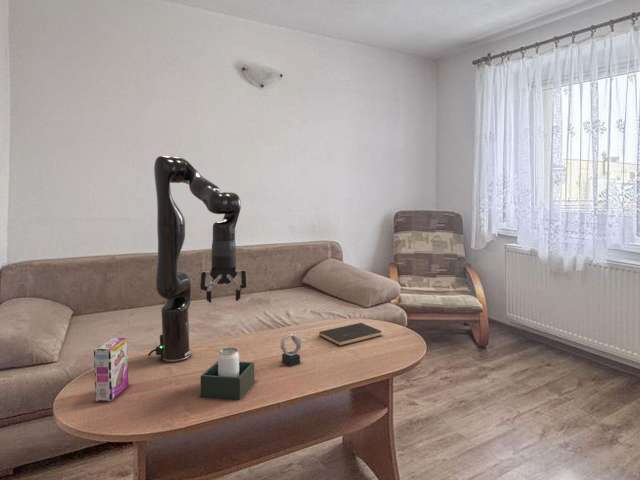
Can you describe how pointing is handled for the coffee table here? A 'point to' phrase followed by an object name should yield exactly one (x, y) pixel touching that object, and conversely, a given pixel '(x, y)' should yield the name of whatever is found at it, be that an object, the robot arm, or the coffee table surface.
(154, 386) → the coffee table surface
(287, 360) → the watch
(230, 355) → the can
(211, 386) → the bin
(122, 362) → the candy bar box
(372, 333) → the hardcover book
